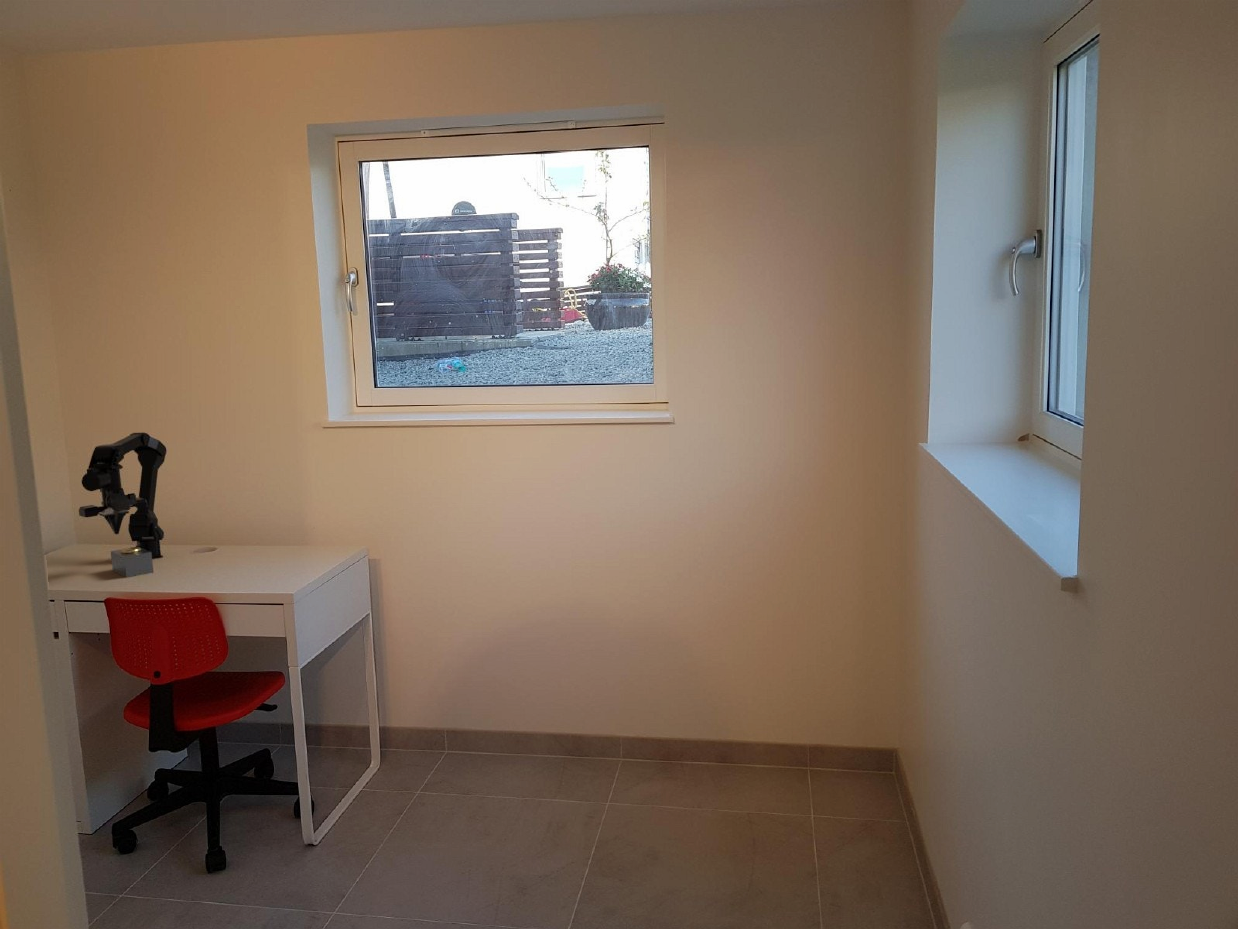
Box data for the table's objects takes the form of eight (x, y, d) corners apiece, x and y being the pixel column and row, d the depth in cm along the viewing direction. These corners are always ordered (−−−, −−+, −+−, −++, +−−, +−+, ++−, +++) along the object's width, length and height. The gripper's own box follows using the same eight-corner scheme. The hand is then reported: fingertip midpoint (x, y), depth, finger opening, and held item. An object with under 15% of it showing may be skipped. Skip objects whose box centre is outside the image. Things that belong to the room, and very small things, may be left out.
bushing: (138, 567, 315) (136, 546, 314) (145, 569, 311) (143, 548, 310) (120, 570, 311) (118, 549, 310) (126, 573, 307) (124, 552, 306)
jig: (139, 566, 318) (137, 546, 317) (153, 572, 310) (151, 552, 309) (112, 571, 312) (110, 551, 312) (126, 577, 304) (124, 557, 303)
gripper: (89, 492, 297) (95, 543, 299) (152, 483, 310) (157, 531, 313) (75, 489, 304) (81, 538, 307) (137, 480, 318) (142, 527, 320)
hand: (116, 534), depth 311 cm, fingers closed
